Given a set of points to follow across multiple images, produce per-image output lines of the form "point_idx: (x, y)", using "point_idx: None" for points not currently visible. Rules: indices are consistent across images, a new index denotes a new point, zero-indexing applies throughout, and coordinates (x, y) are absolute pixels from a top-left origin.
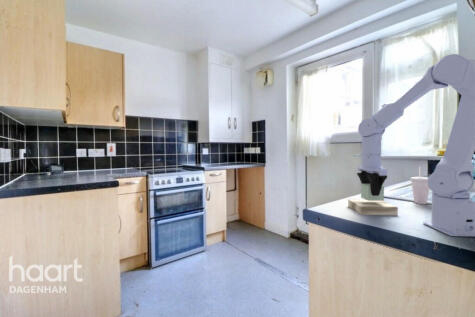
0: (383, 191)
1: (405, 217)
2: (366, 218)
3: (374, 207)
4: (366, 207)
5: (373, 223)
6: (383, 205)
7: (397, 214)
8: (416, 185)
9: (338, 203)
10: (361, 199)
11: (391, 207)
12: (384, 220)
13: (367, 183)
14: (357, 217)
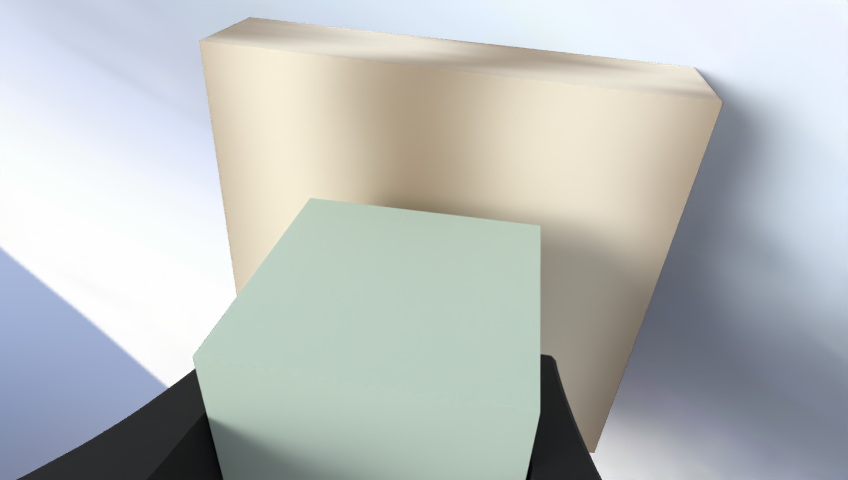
0: (538, 327)
1: (826, 46)
2: (702, 418)
3: (627, 357)
4: (605, 419)
5: (845, 447)
6: (580, 225)
7: (696, 72)
8: None
9: (189, 360)
10: (242, 276)
11: (691, 185)
12: (816, 331)
13: (218, 477)
14: (654, 454)
